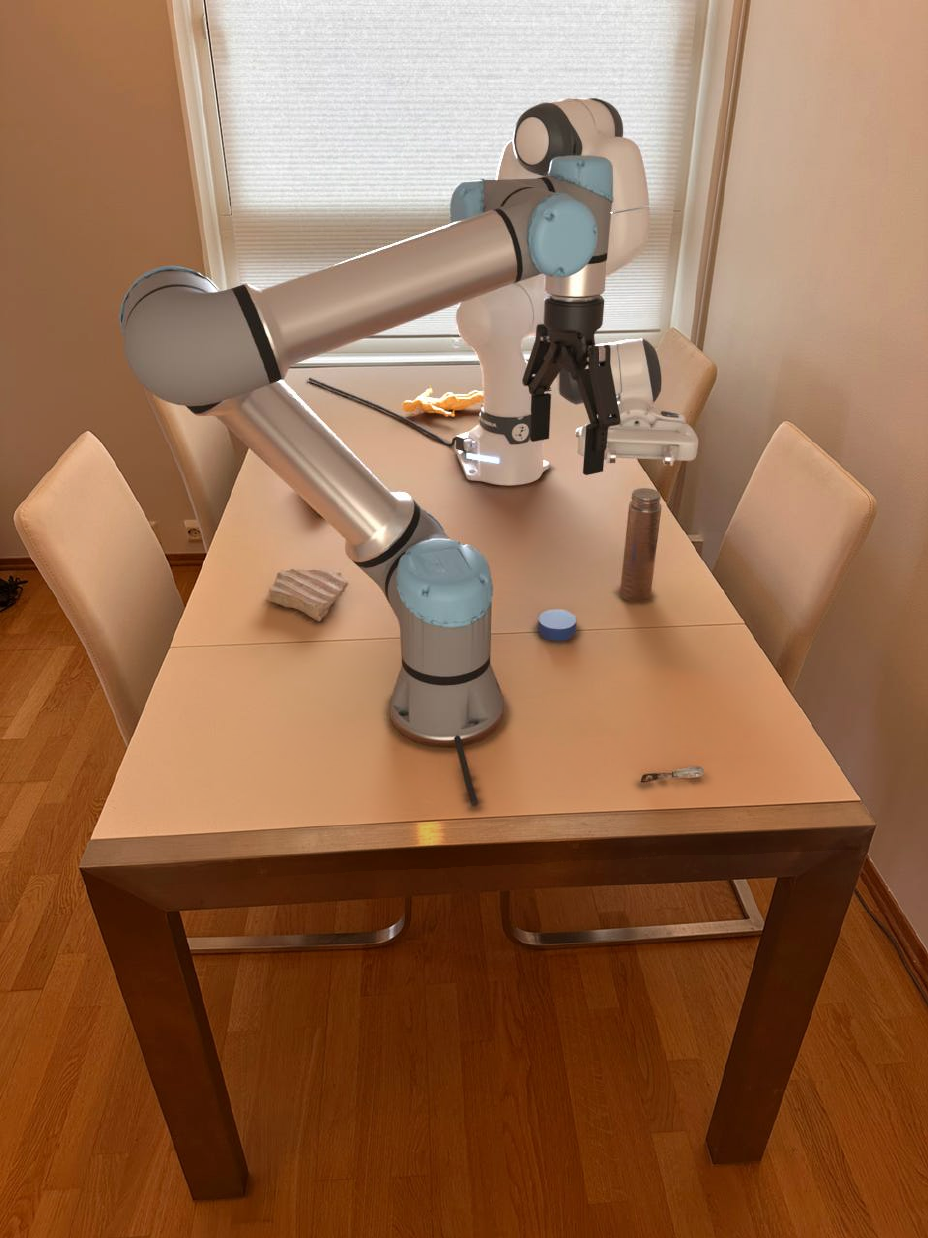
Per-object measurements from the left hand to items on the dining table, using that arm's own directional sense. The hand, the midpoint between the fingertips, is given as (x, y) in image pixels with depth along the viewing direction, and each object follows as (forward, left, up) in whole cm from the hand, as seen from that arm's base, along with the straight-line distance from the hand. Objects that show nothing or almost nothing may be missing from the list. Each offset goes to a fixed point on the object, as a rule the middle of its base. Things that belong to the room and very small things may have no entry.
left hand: (565, 455), depth 123 cm
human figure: (+97, +39, -29) cm, 109 cm away
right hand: (+25, -10, -10) cm, 29 cm away
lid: (0, 0, -27) cm, 27 cm away
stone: (+1, +41, -29) cm, 50 cm away
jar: (+14, -12, -29) cm, 34 cm away
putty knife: (-31, -18, -29) cm, 46 cm away
